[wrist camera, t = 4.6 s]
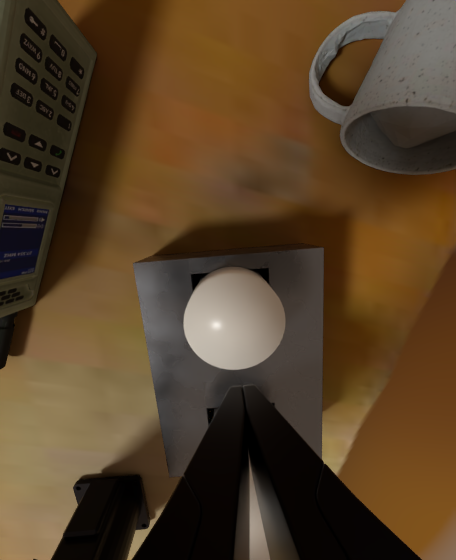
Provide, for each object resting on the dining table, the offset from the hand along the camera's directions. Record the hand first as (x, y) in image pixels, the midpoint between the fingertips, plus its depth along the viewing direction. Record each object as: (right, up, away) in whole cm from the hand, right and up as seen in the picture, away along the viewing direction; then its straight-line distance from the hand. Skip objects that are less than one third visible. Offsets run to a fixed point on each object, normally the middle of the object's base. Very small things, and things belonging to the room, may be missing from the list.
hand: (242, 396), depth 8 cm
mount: (0, -2, +13) cm, 13 cm away
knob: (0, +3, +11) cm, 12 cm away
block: (+10, +16, +9) cm, 21 cm away
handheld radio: (-15, +8, +10) cm, 20 cm away
